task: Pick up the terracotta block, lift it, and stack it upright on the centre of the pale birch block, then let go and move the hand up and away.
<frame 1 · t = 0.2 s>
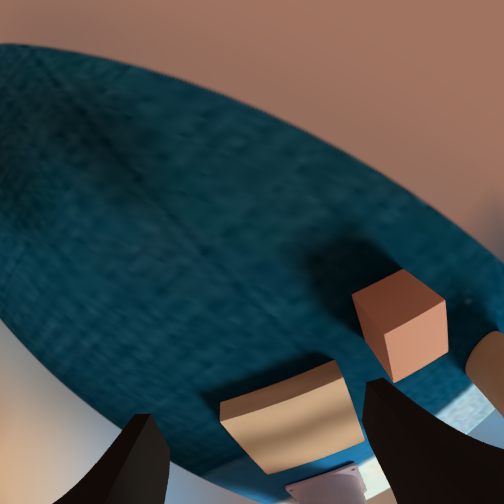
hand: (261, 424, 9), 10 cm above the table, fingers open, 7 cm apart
candle: (483, 353, 22), on the table
terracotta block: (383, 305, 19), on the table
birch block: (295, 413, 22), on the table
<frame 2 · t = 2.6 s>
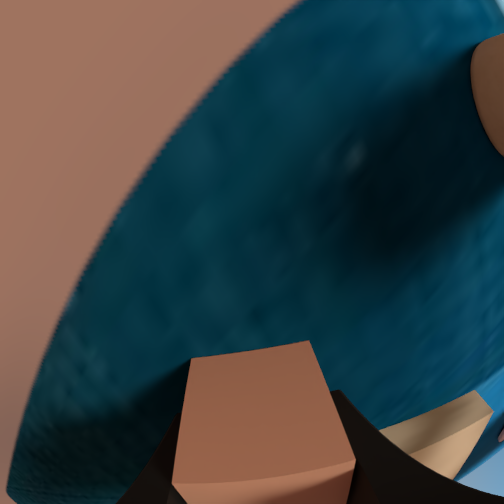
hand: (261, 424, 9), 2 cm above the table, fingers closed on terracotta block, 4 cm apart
terracotta block: (258, 392, 10), on the table, touching gripper
birch block: (392, 458, 14), on the table
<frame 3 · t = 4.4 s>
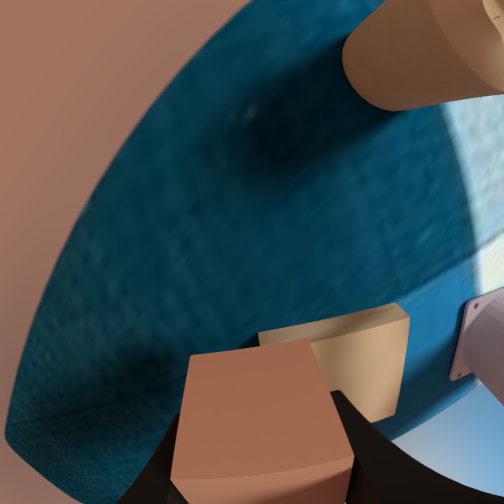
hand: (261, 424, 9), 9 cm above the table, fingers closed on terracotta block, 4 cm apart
candle: (383, 68, 14), on the table
terracotta block: (257, 390, 10), point 7 cm above the table, touching gripper
birch block: (330, 368, 20), on the table
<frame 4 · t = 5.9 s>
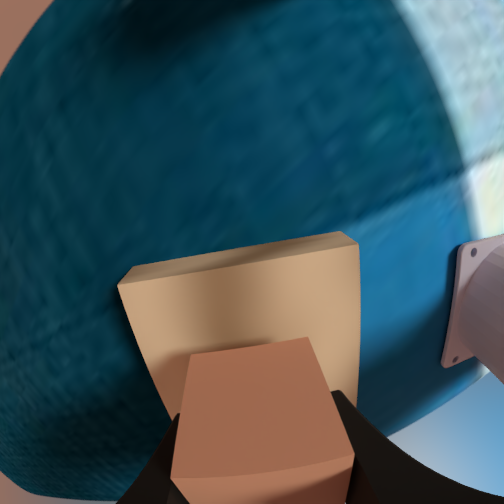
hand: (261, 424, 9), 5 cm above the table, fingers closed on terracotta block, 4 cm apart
terracotta block: (257, 389, 10), point 4 cm above the table, touching gripper
birch block: (251, 335, 14), on the table
when the fingers open (5 cm above the table, at t = 6.7 s): terracotta block drops 2 cm, resting on birch block.
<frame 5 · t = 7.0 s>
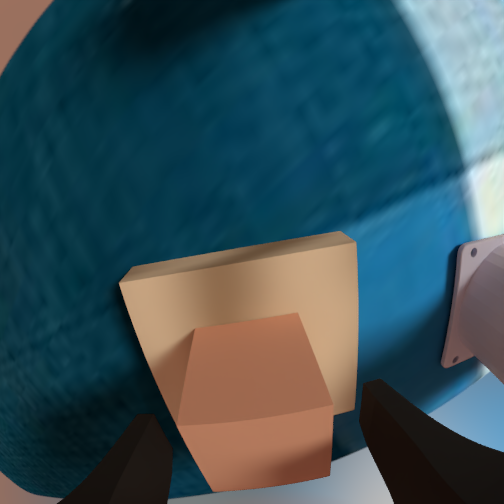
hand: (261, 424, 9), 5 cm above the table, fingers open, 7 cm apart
terracotta block: (253, 361, 12), point 2 cm above the table, touching birch block
birch block: (251, 332, 15), on the table, touching terracotta block
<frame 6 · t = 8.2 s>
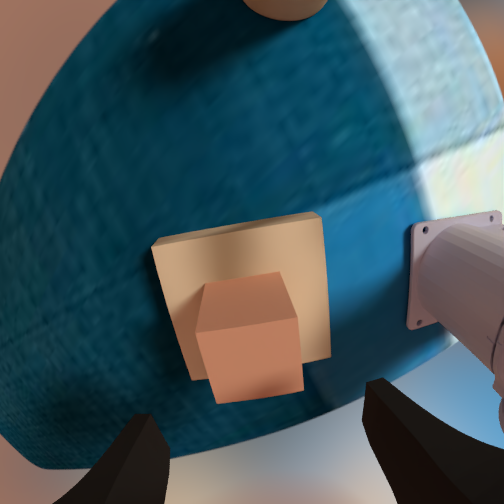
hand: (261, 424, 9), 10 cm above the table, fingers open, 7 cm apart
terracotta block: (248, 310, 17), point 2 cm above the table, touching birch block
birch block: (247, 291, 19), on the table, touching terracotta block
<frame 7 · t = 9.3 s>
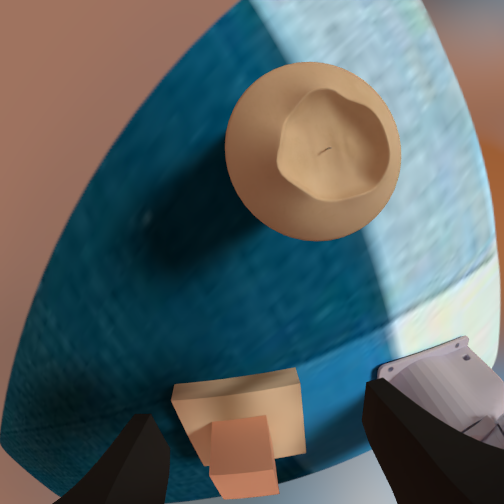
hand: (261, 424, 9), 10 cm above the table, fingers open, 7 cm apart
candle: (277, 155, 17), on the table
terracotta block: (243, 434, 20), point 2 cm above the table
birch block: (244, 411, 23), on the table
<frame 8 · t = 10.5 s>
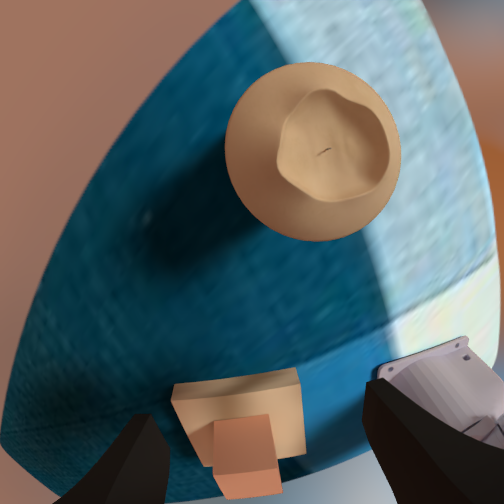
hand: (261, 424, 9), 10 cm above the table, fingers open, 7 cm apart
candle: (277, 155, 17), on the table
terracotta block: (245, 433, 20), point 2 cm above the table
birch block: (244, 411, 23), on the table
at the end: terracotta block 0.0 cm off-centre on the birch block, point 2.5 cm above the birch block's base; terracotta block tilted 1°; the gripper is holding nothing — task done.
